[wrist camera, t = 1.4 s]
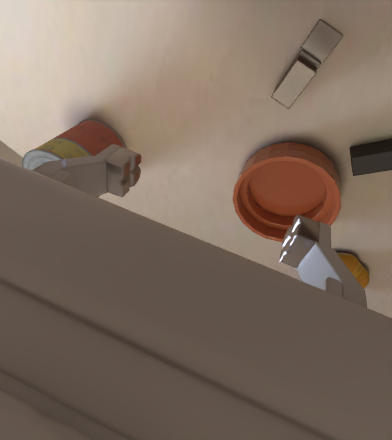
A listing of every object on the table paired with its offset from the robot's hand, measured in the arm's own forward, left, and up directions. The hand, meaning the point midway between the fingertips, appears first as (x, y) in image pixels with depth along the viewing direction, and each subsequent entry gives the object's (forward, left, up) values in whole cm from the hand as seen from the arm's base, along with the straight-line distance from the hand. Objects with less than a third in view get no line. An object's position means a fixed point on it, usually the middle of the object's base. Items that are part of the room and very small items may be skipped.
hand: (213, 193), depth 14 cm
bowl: (+13, -10, -27) cm, 31 cm away
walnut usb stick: (+2, +2, -27) cm, 27 cm away
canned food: (-14, -29, -27) cm, 42 cm away
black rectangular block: (+16, +3, -27) cm, 32 cm away
